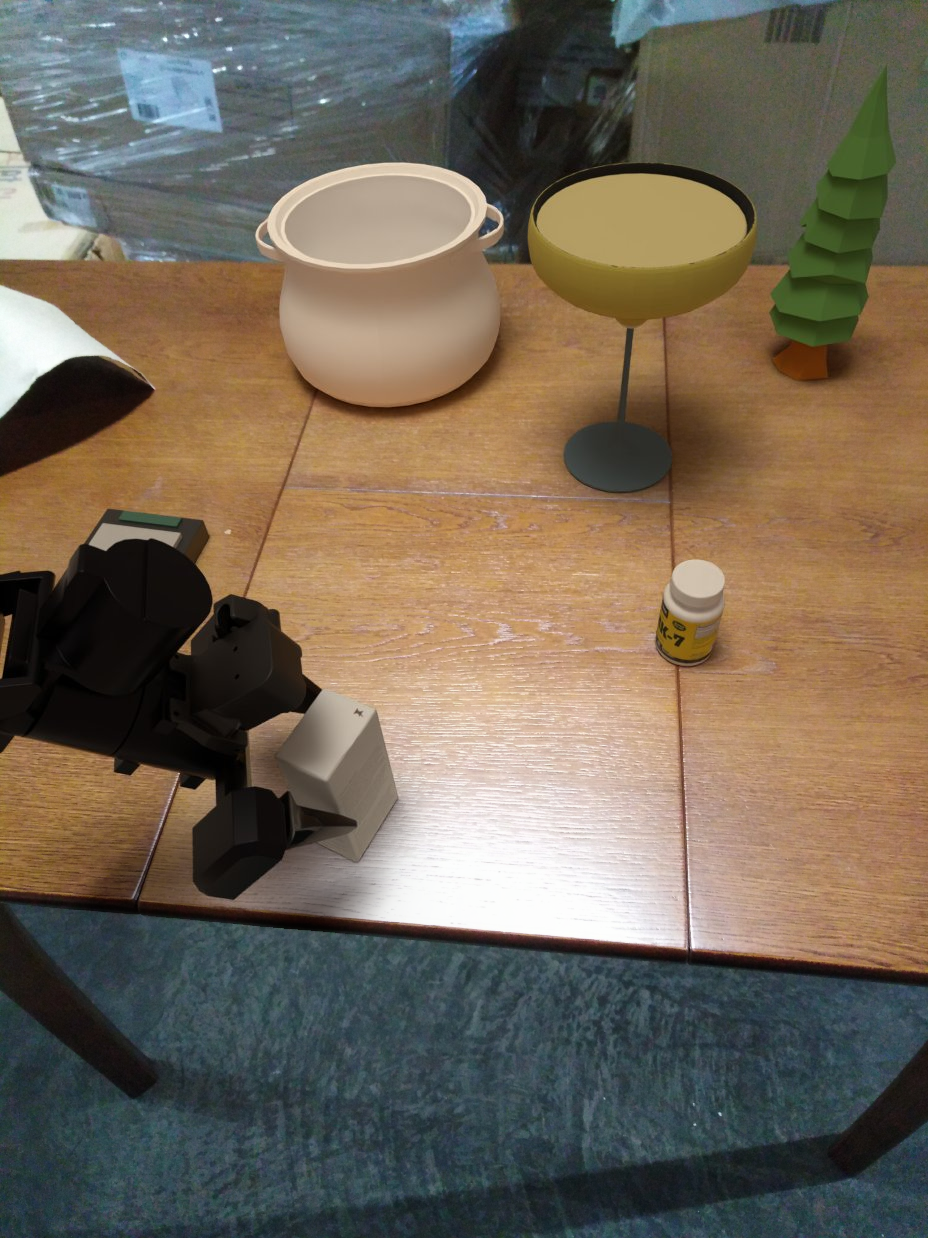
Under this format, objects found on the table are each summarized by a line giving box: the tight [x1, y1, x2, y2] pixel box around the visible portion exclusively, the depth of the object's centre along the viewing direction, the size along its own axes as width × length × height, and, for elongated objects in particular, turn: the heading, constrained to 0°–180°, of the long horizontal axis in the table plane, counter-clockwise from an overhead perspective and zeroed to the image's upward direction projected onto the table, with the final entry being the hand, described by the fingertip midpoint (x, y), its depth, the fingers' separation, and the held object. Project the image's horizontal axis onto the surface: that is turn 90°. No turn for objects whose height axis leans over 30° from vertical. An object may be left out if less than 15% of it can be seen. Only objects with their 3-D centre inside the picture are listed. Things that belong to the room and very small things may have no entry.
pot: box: [254, 162, 505, 408], centre depth 97 cm, size 26×24×17 cm
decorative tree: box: [769, 63, 897, 381], centre depth 87 cm, size 10×9×30 cm
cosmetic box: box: [274, 687, 399, 863], centre depth 61 cm, size 6×4×12 cm
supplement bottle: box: [654, 558, 726, 667], centre depth 71 cm, size 5×5×8 cm
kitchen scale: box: [54, 508, 210, 588], centre depth 82 cm, size 10×11×3 cm
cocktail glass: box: [527, 161, 758, 493], centre depth 80 cm, size 18×18×25 cm
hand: (345, 766), depth 60 cm, fingers open, 9 cm apart
